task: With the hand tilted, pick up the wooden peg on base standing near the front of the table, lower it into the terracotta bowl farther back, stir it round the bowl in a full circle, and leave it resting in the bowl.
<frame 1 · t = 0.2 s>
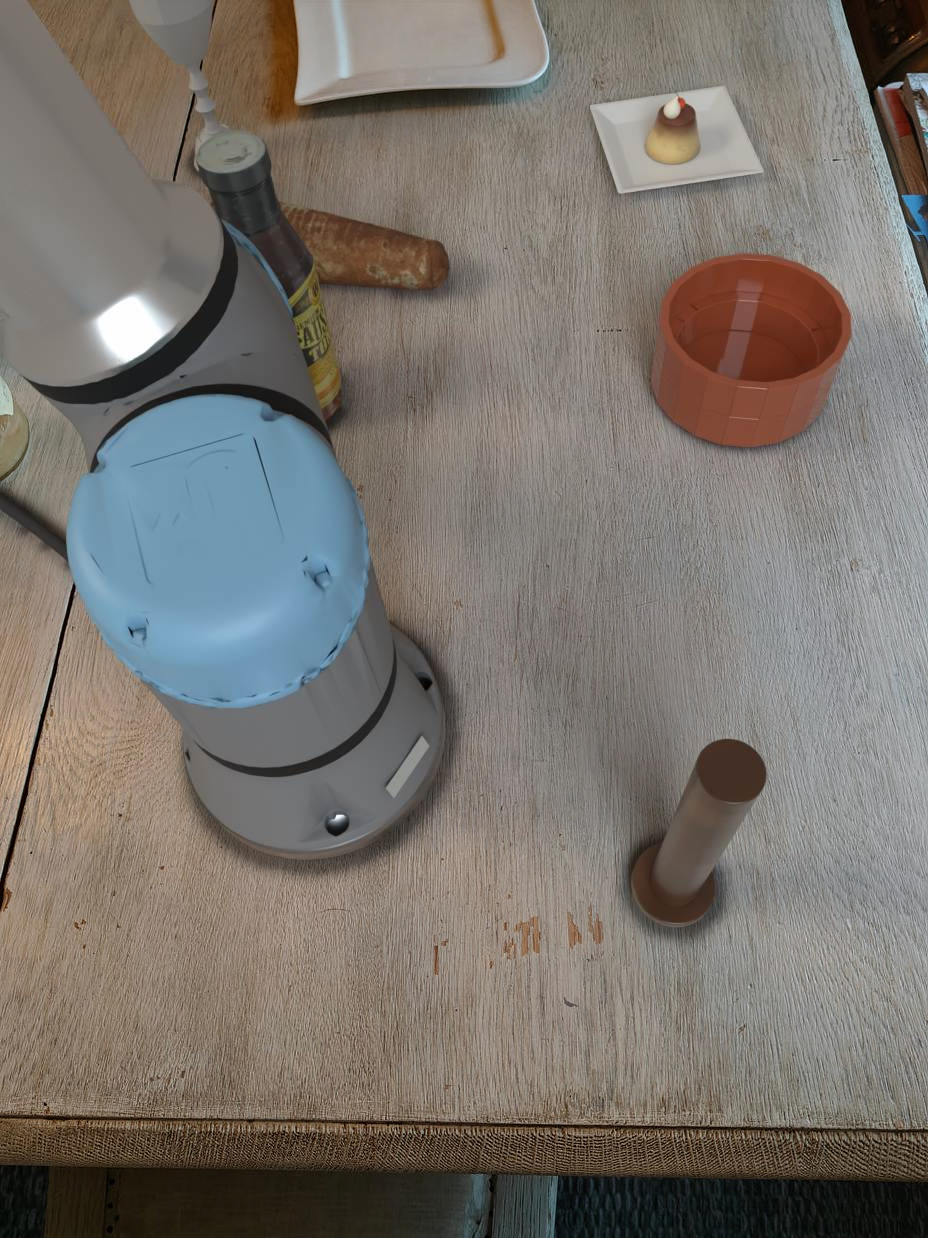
dessert: (671, 151, 82), on the table
sauce bottle: (304, 402, 70), on the table
bread: (338, 270, 77), on the table
wooden peg on base: (671, 886, 52), on the table
bowl: (736, 386, 68), on the table
chalice: (222, 159, 85), on the table
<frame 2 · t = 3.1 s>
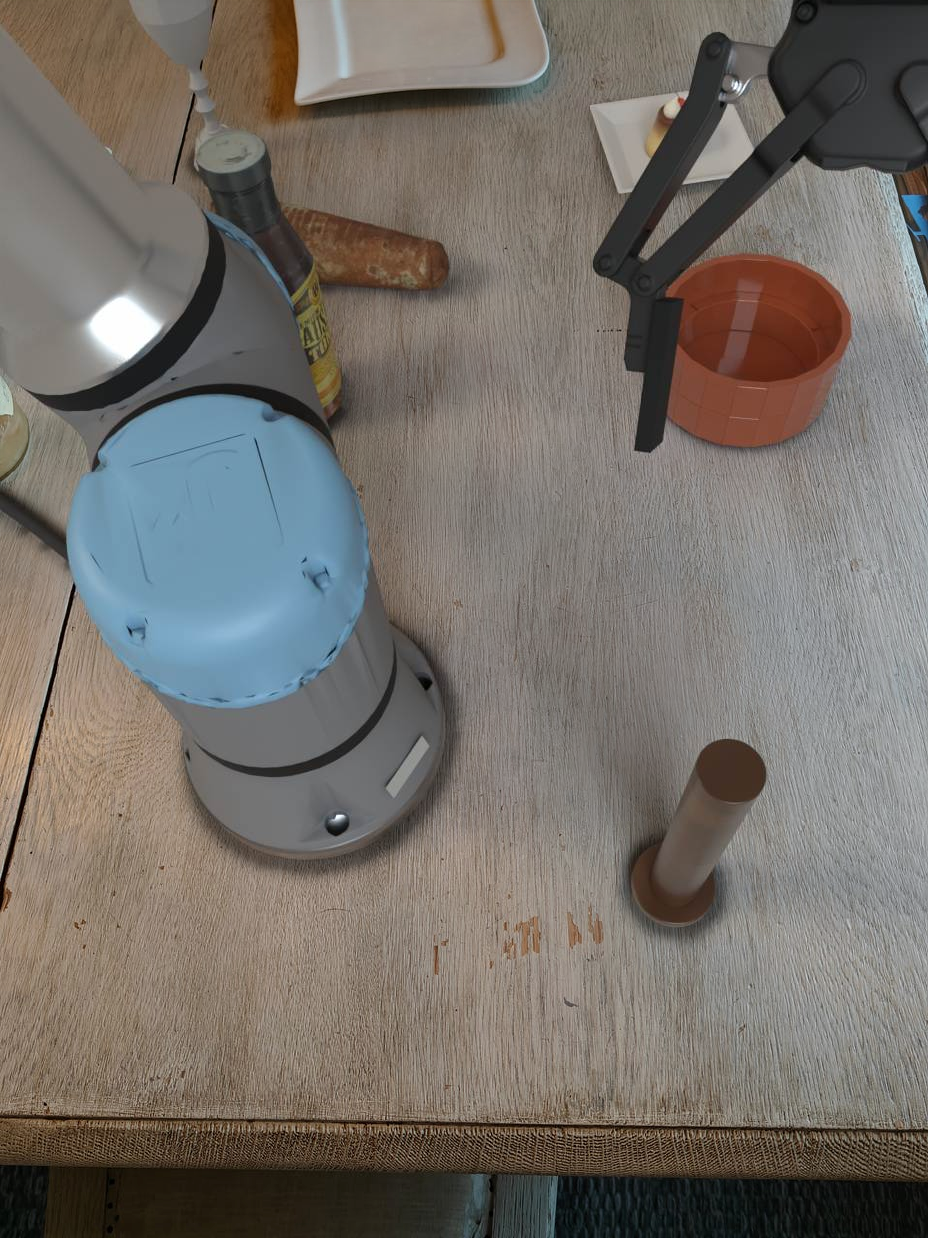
hand: (799, 470, 42), 18 cm above the table, tool tilted 40°, fingers open, 13 cm apart
nothing on the table moved.
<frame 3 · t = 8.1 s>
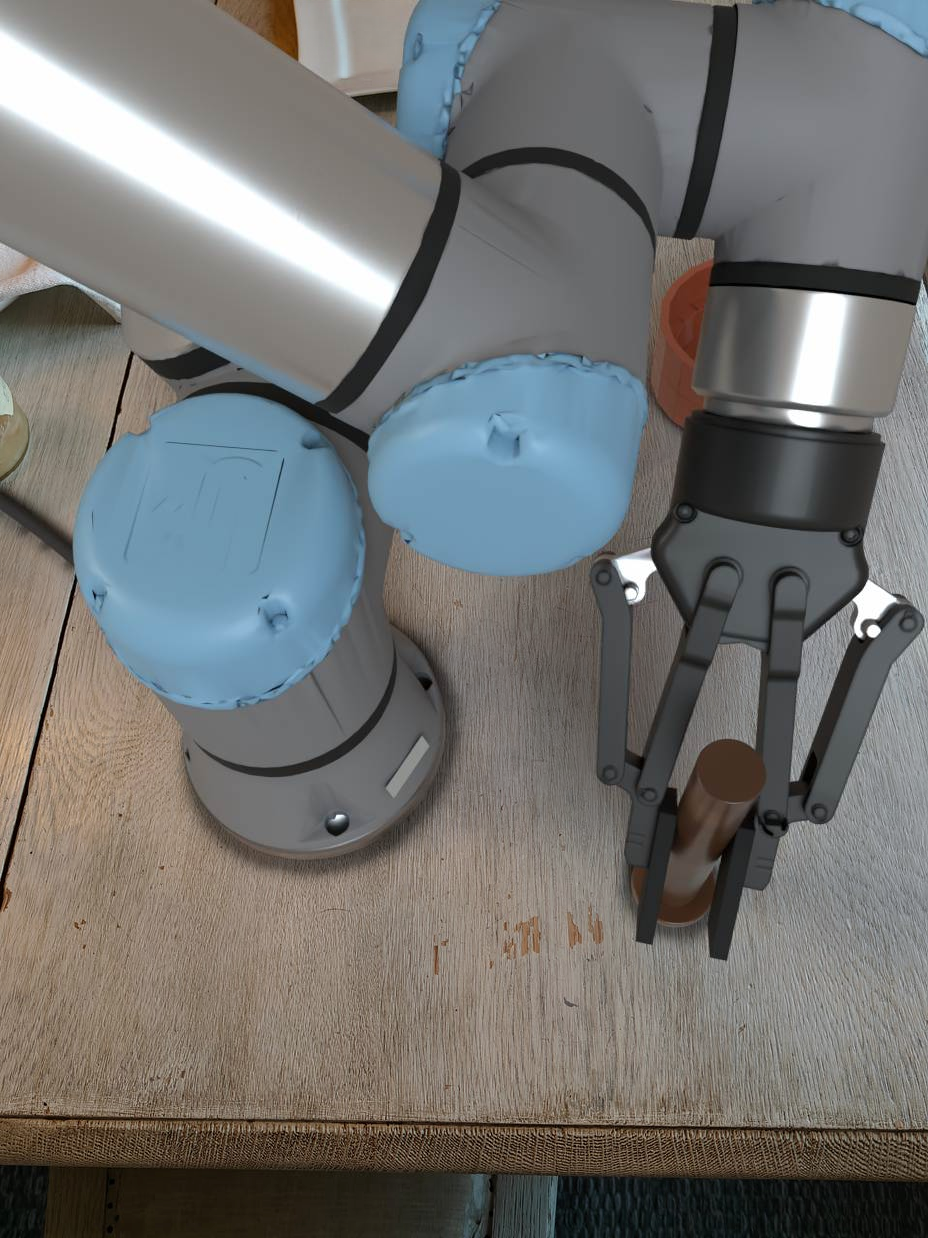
hand: (680, 933, 44), 7 cm above the table, tool tilted 45°, fingers closed on wooden peg on base, 3 cm apart
wooden peg on base: (671, 886, 52), on the table, touching gripper
everything else where it was.
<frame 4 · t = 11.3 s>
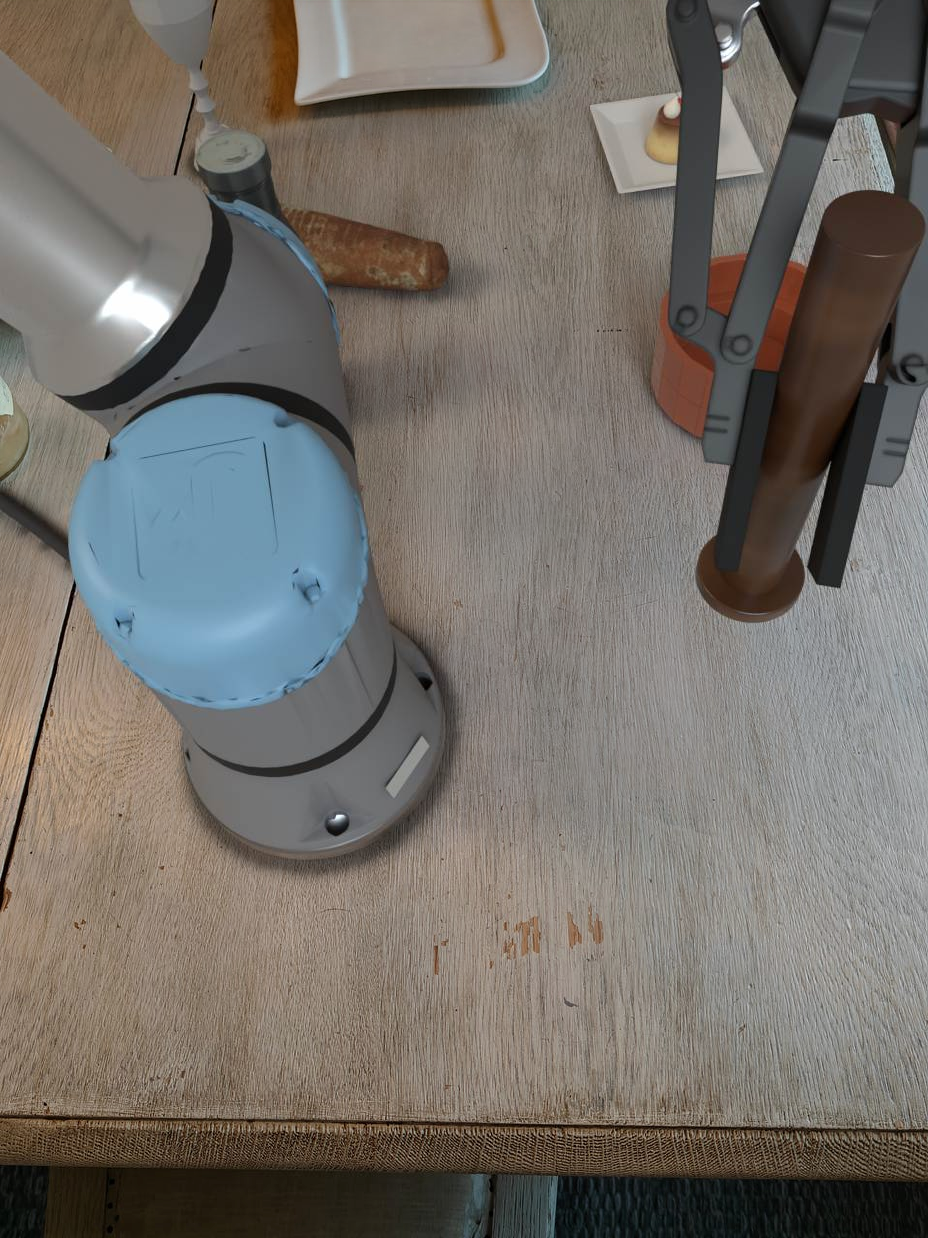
hand: (773, 568, 33), 24 cm above the table, tool tilted 45°, fingers closed on wooden peg on base, 3 cm apart
wooden peg on base: (747, 578, 41), point 17 cm above the table, touching gripper
everything else where it was.
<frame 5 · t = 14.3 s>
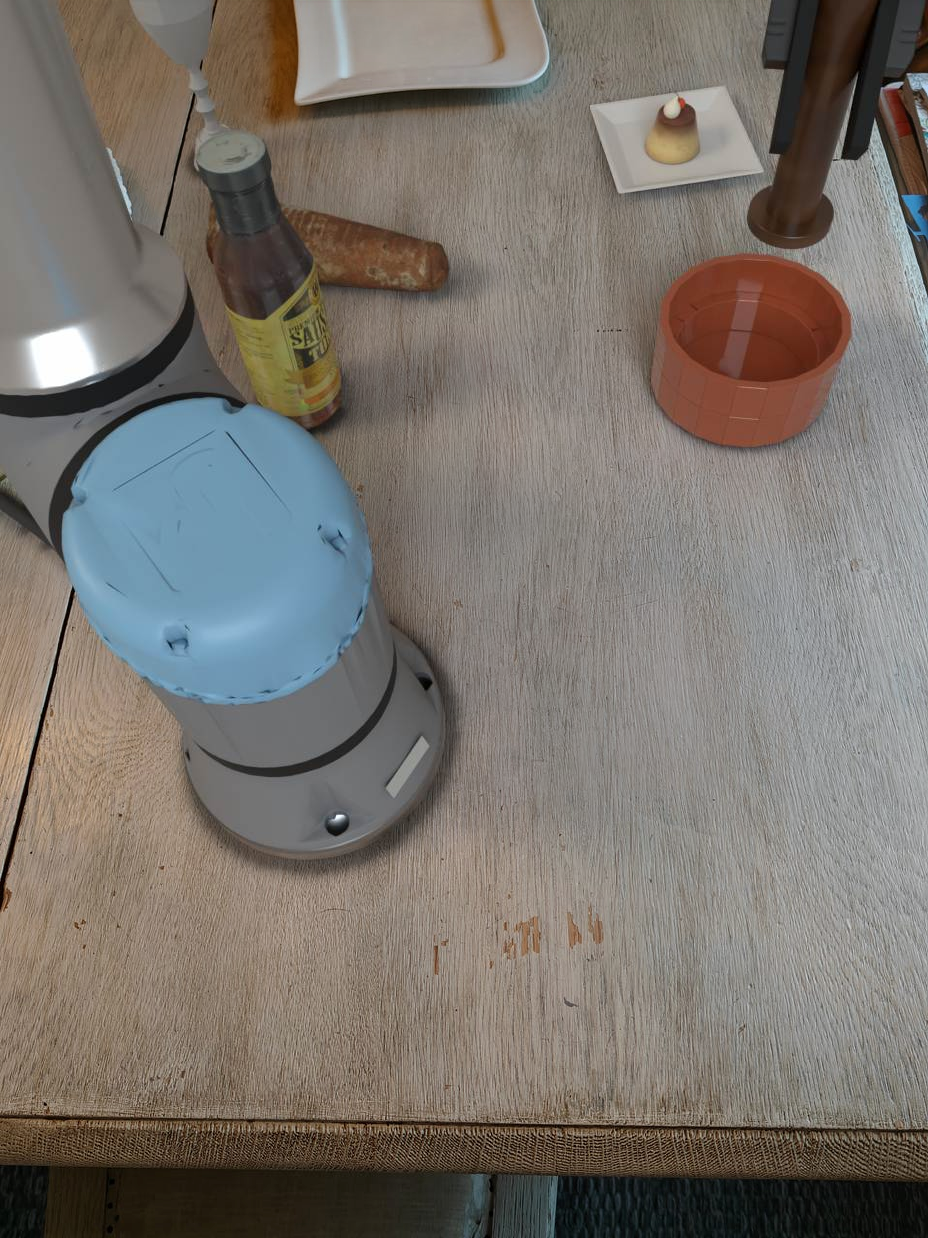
hand: (816, 150, 44), 24 cm above the table, tool tilted 45°, fingers closed on wooden peg on base, 3 cm apart
wooden peg on base: (788, 221, 51), point 17 cm above the table, touching gripper
everything else where it was.
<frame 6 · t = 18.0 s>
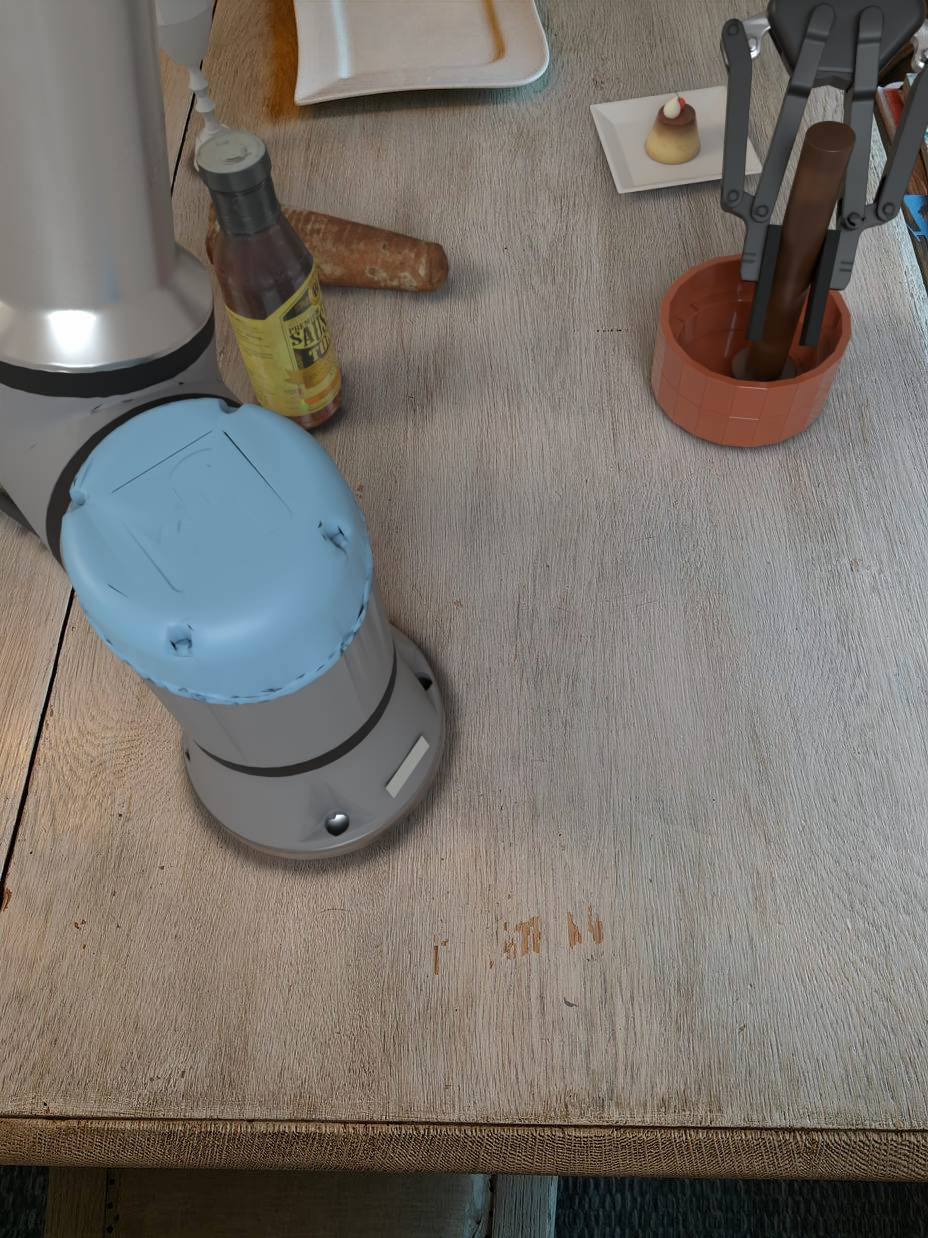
hand: (780, 342, 59), 9 cm above the table, tool tilted 45°, fingers closed on wooden peg on base, 3 cm apart
wooden peg on base: (761, 375, 66), point 2 cm above the table, touching gripper
everything else where it was.
when the fingers open (8 cm above the table, at t = 20.7 s): wooden peg on base stays where it is, resting on bowl.
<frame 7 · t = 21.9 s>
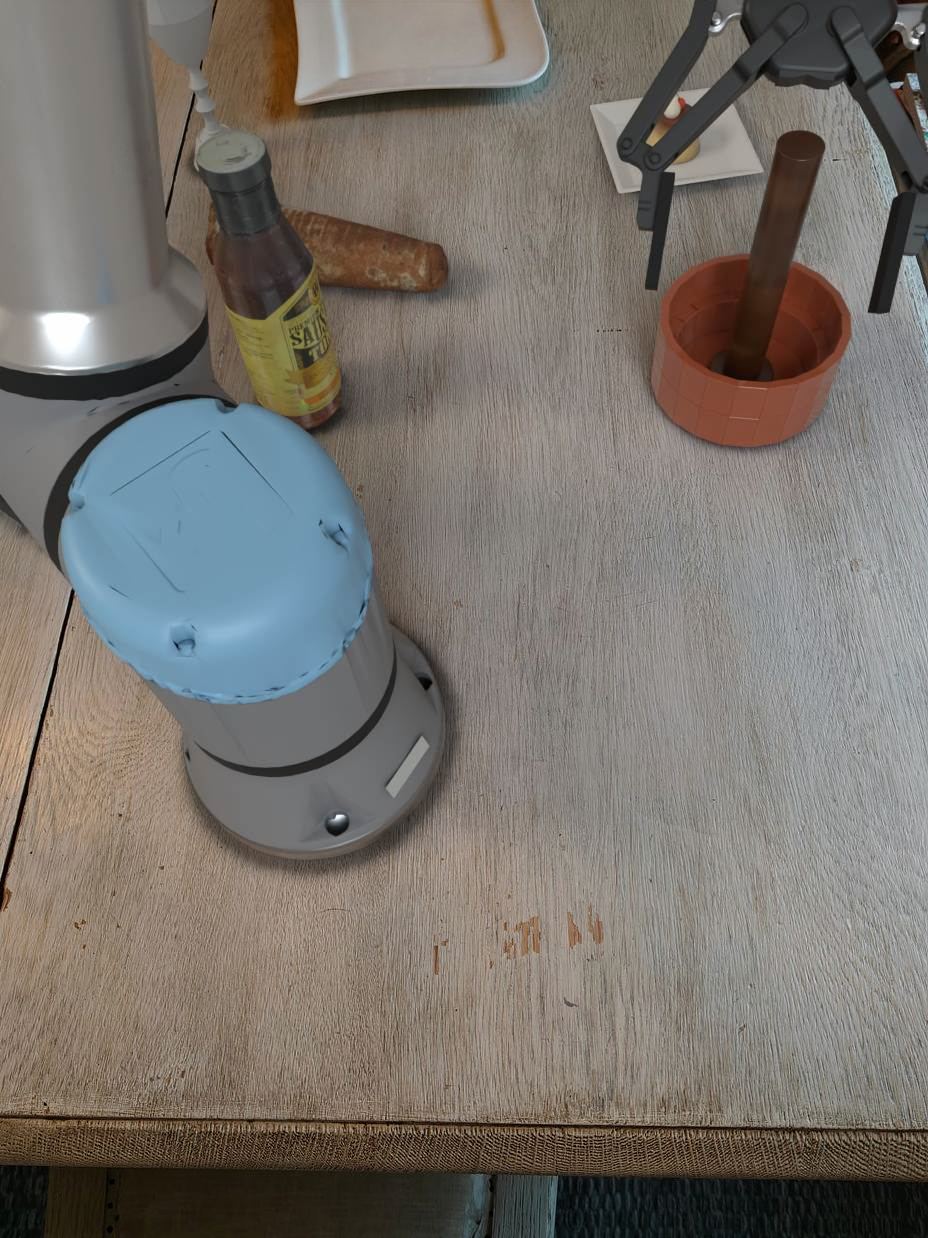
hand: (762, 301, 59), 10 cm above the table, tool tilted 45°, fingers open, 13 cm apart
wooden peg on base: (739, 378, 68), point 1 cm above the table, touching bowl
everything else where it was.
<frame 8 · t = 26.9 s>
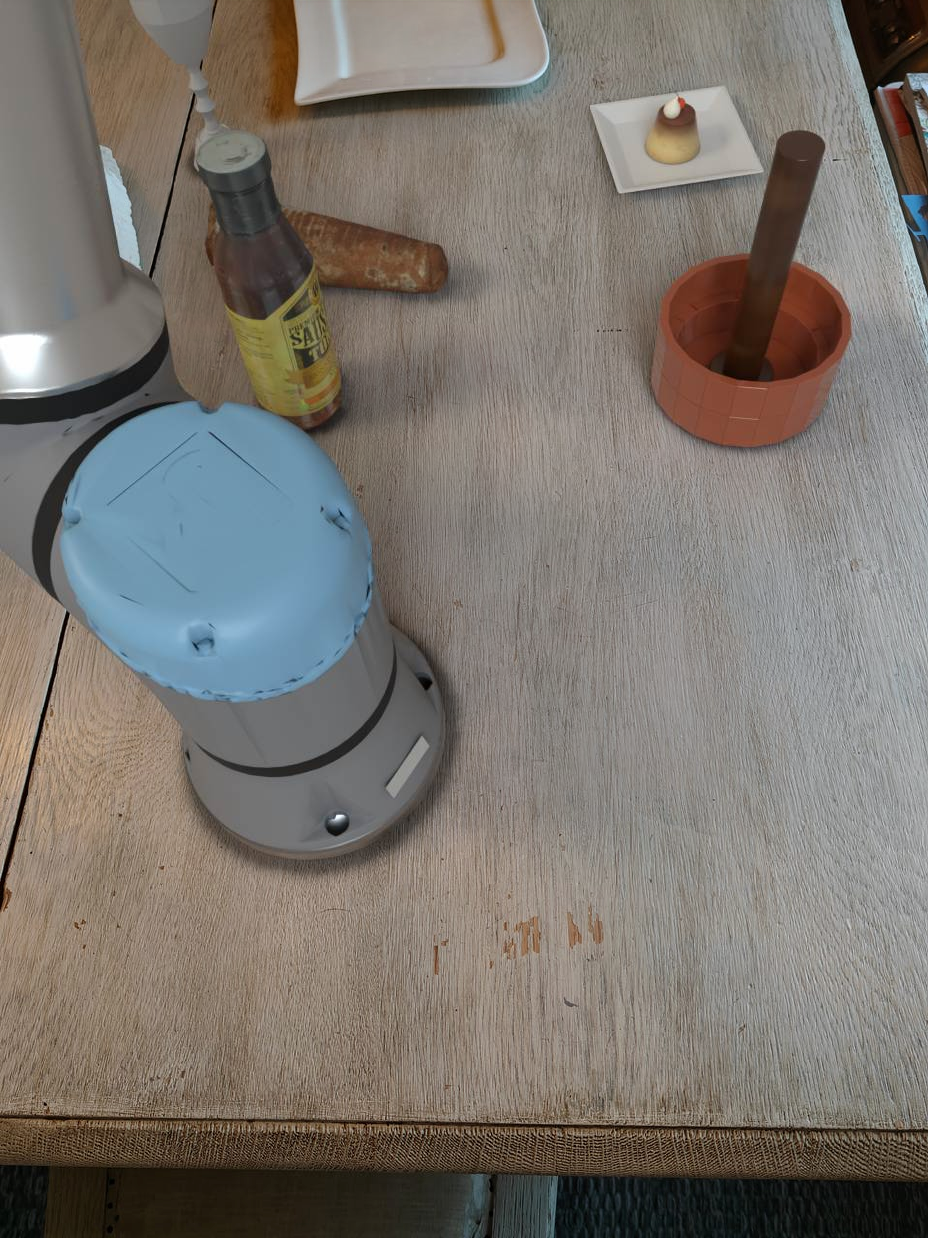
nothing on the table moved.
at the end: wooden peg on base inside the target area in the bowl (0.1 cm from its centre), point 0.8 cm above the bowl's base; wooden peg on base moved 36.2 cm from its start; the gripper is holding nothing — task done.
